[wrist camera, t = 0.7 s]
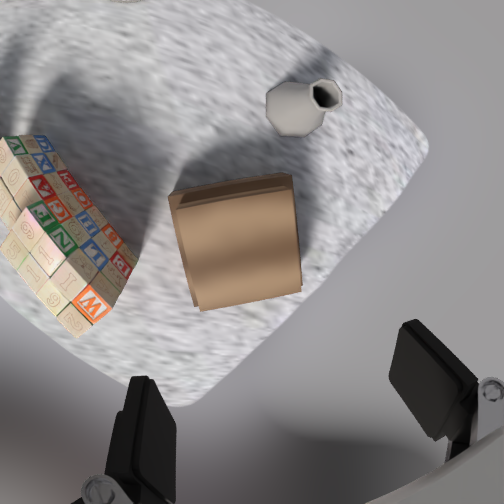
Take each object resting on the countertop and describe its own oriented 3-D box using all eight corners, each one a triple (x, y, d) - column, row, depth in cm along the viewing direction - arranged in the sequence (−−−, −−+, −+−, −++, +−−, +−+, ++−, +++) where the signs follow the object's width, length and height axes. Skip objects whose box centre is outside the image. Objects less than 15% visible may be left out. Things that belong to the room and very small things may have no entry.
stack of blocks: (19, 167, 27) (-41, 181, 16) (45, 134, 26) (-15, 134, 15) (109, 287, 35) (76, 341, 23) (140, 260, 34) (112, 310, 23)
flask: (311, 76, 29) (348, 53, 20) (329, 130, 32) (371, 125, 23) (255, 89, 29) (274, 65, 20) (275, 145, 32) (301, 143, 22)
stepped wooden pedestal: (172, 191, 32) (163, 201, 25) (282, 172, 33) (300, 177, 26) (195, 291, 36) (193, 320, 30) (293, 272, 37) (310, 297, 31)
